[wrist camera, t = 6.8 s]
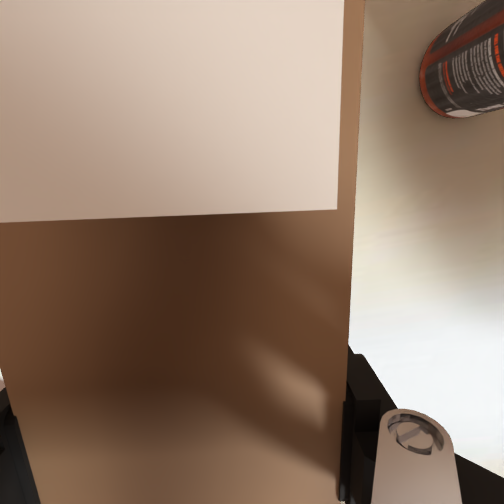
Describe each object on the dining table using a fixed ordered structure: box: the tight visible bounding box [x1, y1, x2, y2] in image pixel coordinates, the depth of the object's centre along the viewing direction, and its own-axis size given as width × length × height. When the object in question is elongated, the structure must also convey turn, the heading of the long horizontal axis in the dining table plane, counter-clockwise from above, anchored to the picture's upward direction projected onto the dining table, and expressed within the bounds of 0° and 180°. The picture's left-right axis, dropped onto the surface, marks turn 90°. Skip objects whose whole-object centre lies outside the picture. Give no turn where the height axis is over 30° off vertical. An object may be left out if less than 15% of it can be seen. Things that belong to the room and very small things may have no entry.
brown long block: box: [0, 0, 365, 504], centre depth 9 cm, size 7×22×5 cm, turn 2°
